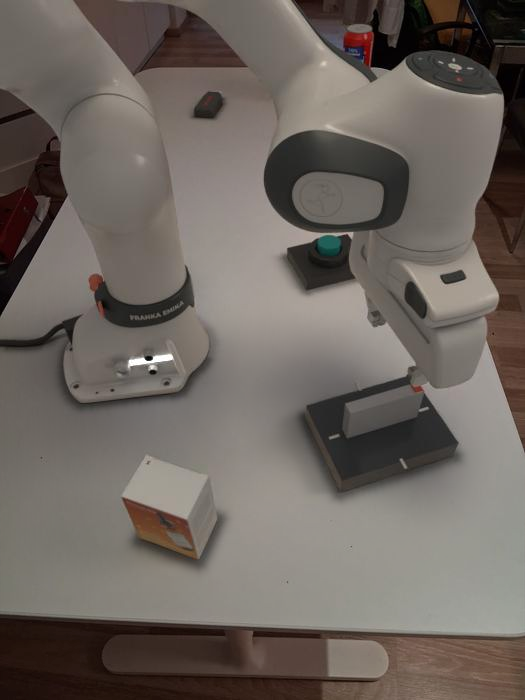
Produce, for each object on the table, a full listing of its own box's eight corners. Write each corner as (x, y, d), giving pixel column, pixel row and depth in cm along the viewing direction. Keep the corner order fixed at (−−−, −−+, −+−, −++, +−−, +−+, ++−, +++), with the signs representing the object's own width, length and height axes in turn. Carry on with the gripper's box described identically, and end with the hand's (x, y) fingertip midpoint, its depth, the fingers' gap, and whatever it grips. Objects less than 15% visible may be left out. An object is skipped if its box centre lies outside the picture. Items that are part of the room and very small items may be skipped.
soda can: (374, 86, 151) (380, 26, 140) (357, 95, 147) (362, 34, 136) (351, 79, 155) (356, 21, 144) (334, 88, 151) (338, 28, 140)
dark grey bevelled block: (194, 116, 142) (193, 106, 140) (207, 98, 150) (206, 88, 148) (213, 118, 141) (212, 107, 139) (225, 99, 149) (224, 89, 147)
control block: (306, 290, 93) (307, 272, 90) (287, 257, 99) (286, 239, 96) (370, 275, 95) (372, 256, 92) (346, 243, 102) (348, 225, 99)
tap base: (343, 500, 66) (345, 487, 64) (302, 412, 75) (302, 398, 73) (458, 462, 69) (464, 449, 67) (404, 382, 78) (408, 368, 76)
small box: (138, 538, 64) (117, 496, 56) (161, 497, 67) (144, 452, 60) (199, 562, 62) (186, 521, 54) (219, 518, 65) (210, 474, 57)
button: (322, 258, 93) (322, 250, 92) (313, 245, 96) (314, 237, 94) (343, 253, 94) (344, 245, 92) (334, 241, 96) (335, 232, 95)
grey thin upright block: (346, 438, 69) (350, 412, 64) (341, 429, 70) (345, 402, 65) (417, 417, 70) (425, 389, 66) (411, 408, 71) (418, 380, 67)
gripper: (339, 198, 56) (332, 298, 66) (444, 329, 42) (414, 429, 53) (394, 186, 57) (378, 286, 67) (513, 310, 44) (471, 411, 54)
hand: (395, 350), depth 60 cm, fingers open, 8 cm apart
